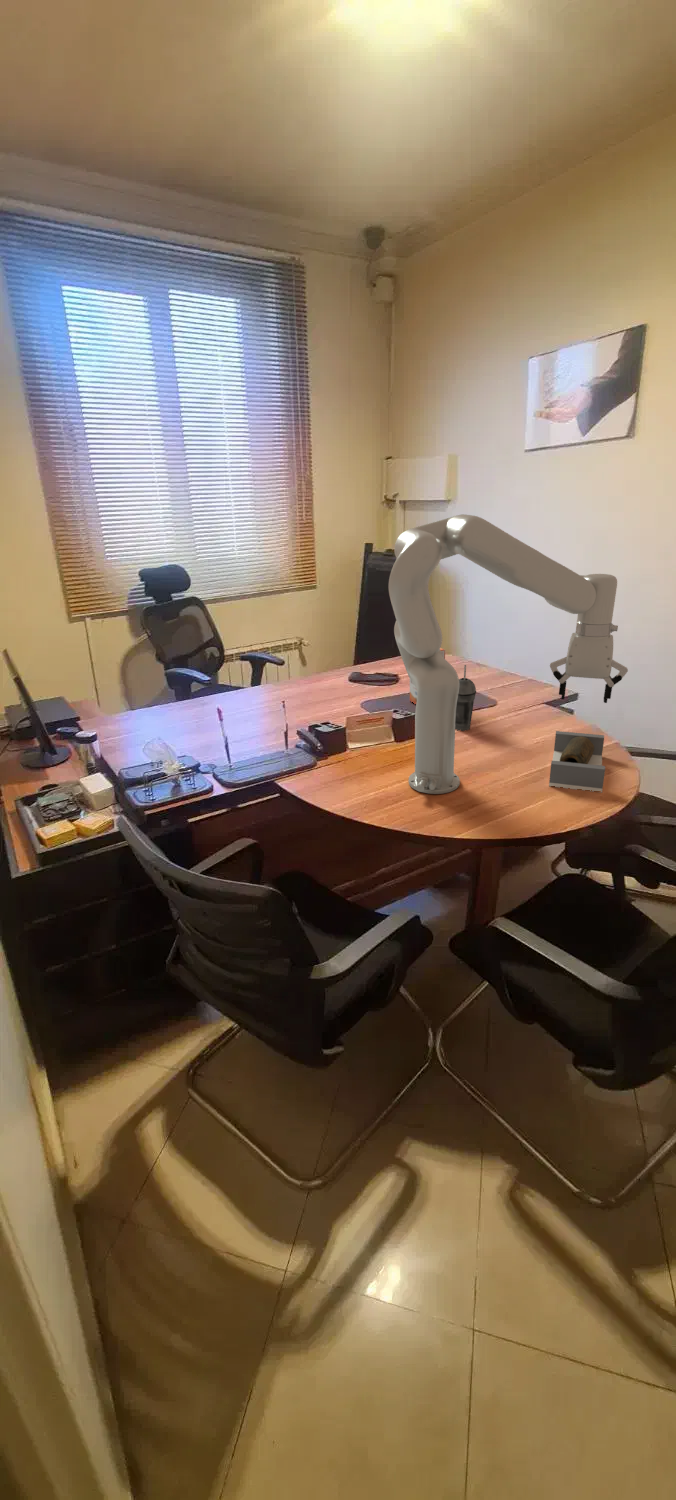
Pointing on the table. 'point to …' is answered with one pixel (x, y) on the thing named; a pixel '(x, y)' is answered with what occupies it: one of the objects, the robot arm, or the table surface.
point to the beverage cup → (464, 703)
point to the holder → (577, 765)
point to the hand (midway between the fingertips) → (583, 699)
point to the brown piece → (578, 751)
